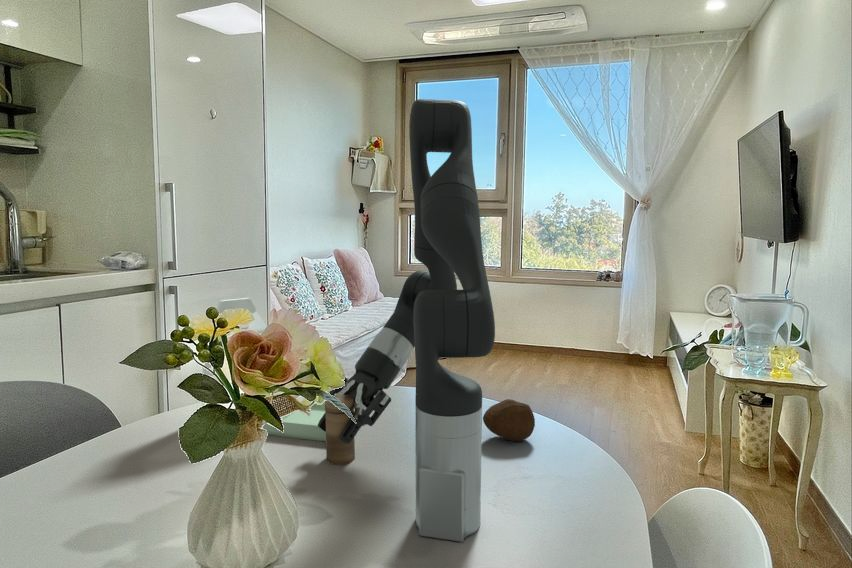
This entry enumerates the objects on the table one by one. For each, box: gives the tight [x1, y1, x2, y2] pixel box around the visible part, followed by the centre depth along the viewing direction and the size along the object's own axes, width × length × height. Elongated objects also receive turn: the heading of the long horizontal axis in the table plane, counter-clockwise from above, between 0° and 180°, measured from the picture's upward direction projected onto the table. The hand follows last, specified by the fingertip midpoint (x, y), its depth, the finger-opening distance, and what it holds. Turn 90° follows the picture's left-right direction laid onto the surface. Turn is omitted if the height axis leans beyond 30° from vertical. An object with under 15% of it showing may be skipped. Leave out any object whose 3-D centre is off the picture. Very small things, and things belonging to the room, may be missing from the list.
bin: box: [263, 402, 361, 442], centre depth 115 cm, size 16×16×3 cm
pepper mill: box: [325, 394, 356, 466], centre depth 98 cm, size 5×5×11 cm
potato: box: [482, 398, 536, 442], centre depth 107 cm, size 7×10×8 cm
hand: (332, 434), depth 97 cm, fingers open, 6 cm apart
